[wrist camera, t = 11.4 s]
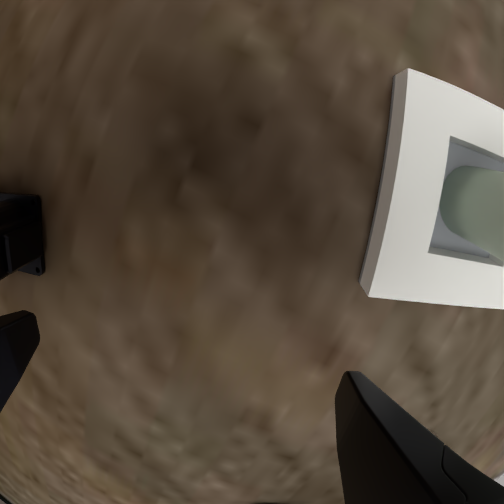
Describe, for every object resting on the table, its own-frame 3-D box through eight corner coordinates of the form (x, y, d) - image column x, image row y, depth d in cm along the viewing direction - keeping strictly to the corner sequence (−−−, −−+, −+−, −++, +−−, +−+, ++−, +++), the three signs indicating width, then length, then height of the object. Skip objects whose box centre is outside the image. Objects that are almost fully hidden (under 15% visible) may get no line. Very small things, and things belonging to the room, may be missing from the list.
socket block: (358, 281, 21) (368, 296, 18) (393, 76, 16) (408, 67, 14) (498, 297, 21) (513, 309, 18) (532, 138, 16) (551, 139, 14)
